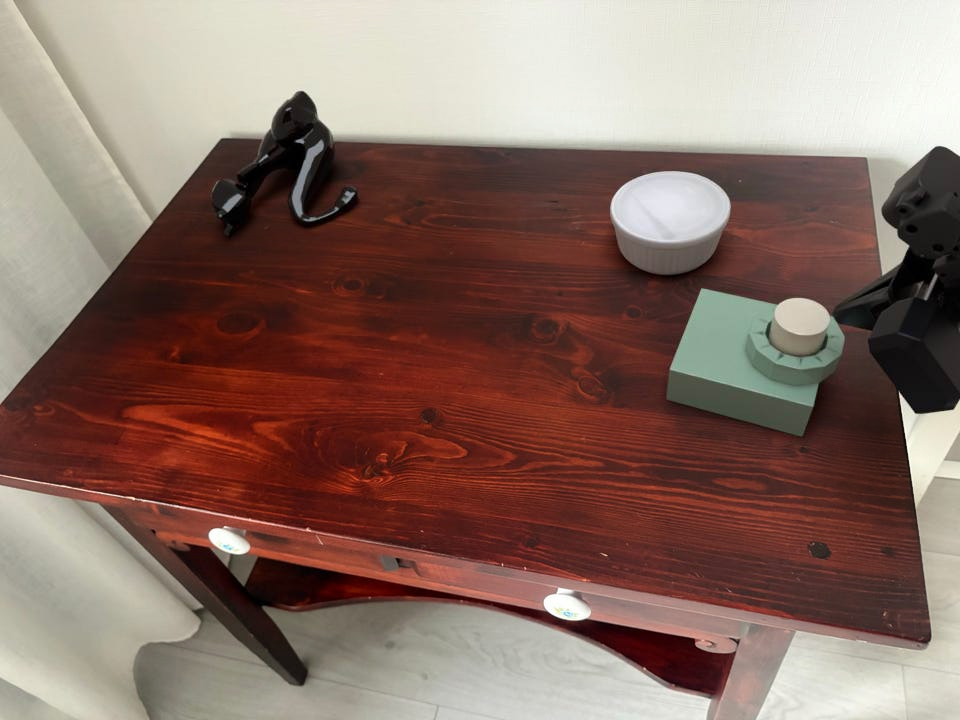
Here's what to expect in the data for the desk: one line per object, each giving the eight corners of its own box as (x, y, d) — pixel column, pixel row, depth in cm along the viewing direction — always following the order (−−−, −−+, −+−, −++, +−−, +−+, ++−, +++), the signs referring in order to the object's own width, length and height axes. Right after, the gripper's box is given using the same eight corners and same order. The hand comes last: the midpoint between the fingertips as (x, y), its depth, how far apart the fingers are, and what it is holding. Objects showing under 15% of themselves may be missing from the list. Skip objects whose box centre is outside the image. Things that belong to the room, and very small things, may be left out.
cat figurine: (391, 185, 93) (301, 292, 87) (301, 135, 95) (207, 234, 89) (386, 131, 84) (285, 246, 78) (287, 77, 86) (181, 183, 80)
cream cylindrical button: (826, 327, 60) (834, 304, 58) (817, 363, 57) (825, 340, 55) (774, 315, 61) (780, 292, 59) (763, 350, 59) (769, 327, 57)
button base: (835, 351, 65) (853, 302, 60) (815, 441, 59) (833, 393, 55) (696, 319, 69) (703, 270, 65) (665, 399, 64) (671, 352, 59)
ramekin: (589, 261, 76) (589, 220, 72) (641, 200, 81) (643, 159, 78) (693, 298, 71) (699, 256, 67) (741, 230, 76) (749, 187, 73)
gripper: (1048, 54, 45) (819, 163, 58) (968, 232, 36) (719, 313, 49) (1134, 198, 47) (896, 271, 61) (1080, 399, 38) (813, 434, 52)
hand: (835, 315), depth 55 cm, fingers closed
